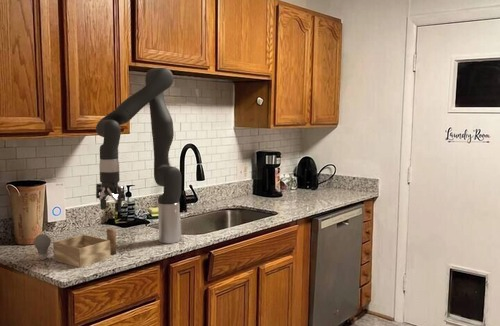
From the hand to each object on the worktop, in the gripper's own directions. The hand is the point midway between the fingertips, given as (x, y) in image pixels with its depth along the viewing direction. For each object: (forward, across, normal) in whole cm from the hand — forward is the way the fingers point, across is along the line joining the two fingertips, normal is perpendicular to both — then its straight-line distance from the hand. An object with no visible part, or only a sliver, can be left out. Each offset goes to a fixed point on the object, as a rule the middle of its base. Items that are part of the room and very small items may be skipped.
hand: (110, 210), depth 191 cm
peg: (+18, 0, 0) cm, 18 cm away
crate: (+18, +4, +11) cm, 21 cm away
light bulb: (+18, +16, +20) cm, 31 cm away
